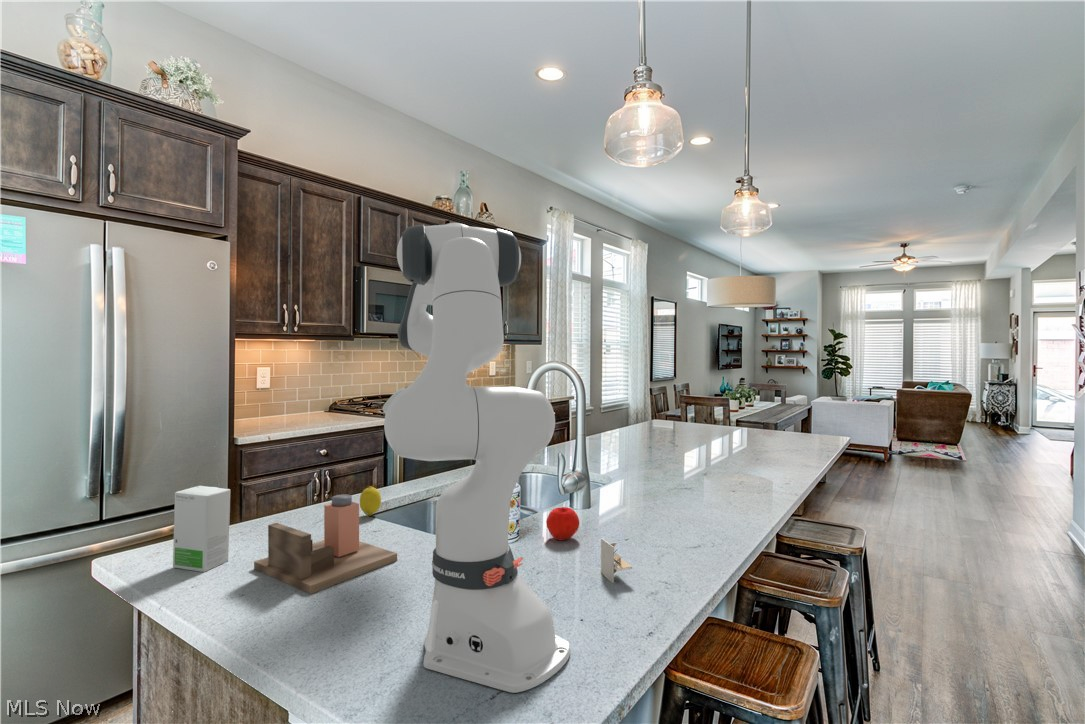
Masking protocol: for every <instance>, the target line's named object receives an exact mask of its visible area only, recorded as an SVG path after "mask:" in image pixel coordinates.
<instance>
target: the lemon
mask: <svg viewBox="0 0 1085 724" xmlns="http://www.w3.org/2000/svg"><path fill="white" fill-rule="evenodd" d="M381 504H382V496H381V493H380V491H379V490H378V489H377V488H376V487H373V486H372V485H371V486H370V485H369V486H368V487H366V488H364V489H363V490H362V492H361V494H360V497H359V508H360V509H361V511H362V512H363V513H364V514H367V515H368V516H370V517H371V516H373V515H374V514H375V513H376V512H378V511H379V509H380V508H381Z"/></svg>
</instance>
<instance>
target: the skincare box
mask: <svg viewBox="0 0 1085 724" xmlns="http://www.w3.org/2000/svg"><path fill="white" fill-rule="evenodd" d="M173 508H174V515H173V517H174V518H173V519H174V520H173V546H172V547H173V548H172V567H173V569H174V568H175V569H181V570H188V571H196V572H201V573H206V572H207V571H210V570H212V569H215V568H216V567H218V566H221V565H222V564H225V563H227V562H229V552H230V551H229V547H230V517H231V515H230V513H231V489H230V488H223V487H221V488H220V487H217V486H205V485H197V486H192V487H189V488H185V489H183V490H178V491H176V492H174V507H173Z"/></svg>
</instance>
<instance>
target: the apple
mask: <svg viewBox="0 0 1085 724" xmlns="http://www.w3.org/2000/svg"><path fill="white" fill-rule="evenodd" d="M579 518H580V517H579V516H578V514H577V513H576V511H575V510H574V509H572V508H570V507H567V506H566V507H565V506H564V507H556V508H553V509H552V510H551V511H550V512H549V513H548V516H547V518H546V521H545V522H546V529H547V530H548V531H549V534H550V535H551V536H552V537H553V539H555V540H557V539H558V540H559V541H560V540H561V541H563V540H565V541H566V540H569V539H571V538H572V537H573V536H574V535H575V534H576V533H577V531H578V530H579V527H580V519H579Z"/></svg>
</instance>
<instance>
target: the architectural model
mask: <svg viewBox="0 0 1085 724" xmlns="http://www.w3.org/2000/svg"><path fill="white" fill-rule="evenodd" d="M616 545H617V542H610V543H609V542H608V541H607V540H605V539H604V538H603V537H601V538H600V573H601V574H602V575H603V576H604V577H605V578H606V579H608V581H610V582H611V583H612V584H615V573H616V572H617V571H626V570H632V569H633V566H632V565H630V564H629V563H628V562H626V561H625V560H624V559H623V558H622V557H621V555H619V554H617V553H616V552H617V551H618V549H616V550H615V546H616Z"/></svg>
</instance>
